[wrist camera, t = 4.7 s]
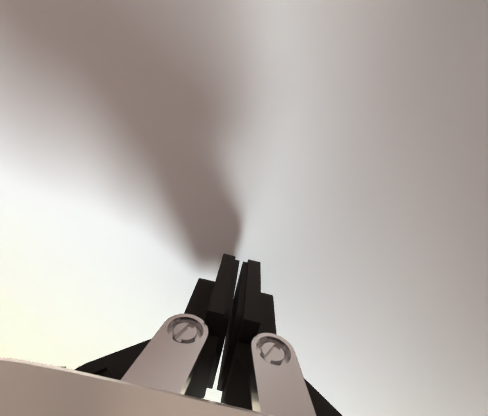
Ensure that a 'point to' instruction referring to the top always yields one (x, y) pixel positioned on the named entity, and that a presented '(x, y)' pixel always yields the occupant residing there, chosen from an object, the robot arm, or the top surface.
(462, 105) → the top surface
